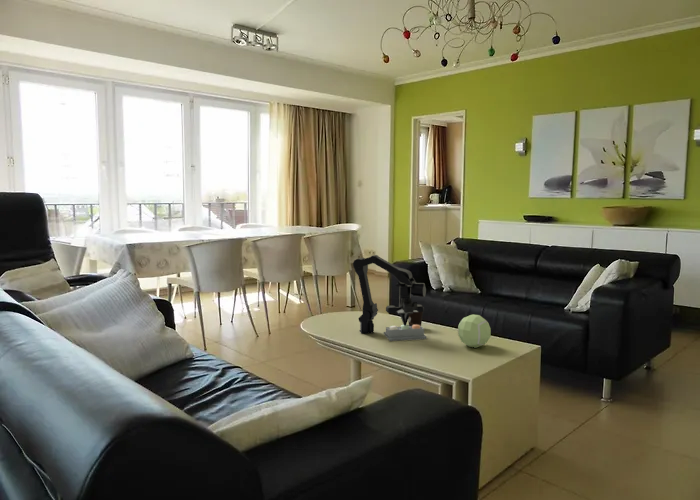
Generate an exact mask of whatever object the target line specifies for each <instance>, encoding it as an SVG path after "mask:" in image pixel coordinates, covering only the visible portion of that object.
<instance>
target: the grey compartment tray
mask: <svg viewBox="0 0 700 500" xmlns="http://www.w3.org/2000/svg"><path fill="white" fill-rule="evenodd" d="M383 335H384V336H385V337H386V339H388V341H389V342H394V341H396V342H397V341H413V340H414V341H415V340H427V339H428V337H427V336H426V335H425V328H424V327H423V326H422V325H421V326H420V329H413V328H412V326H409V329H401V326H397V330H390V326H387V327H386V326H385V331H383Z"/></svg>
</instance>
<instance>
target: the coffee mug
mask: <svg viewBox="0 0 700 500" xmlns="http://www.w3.org/2000/svg"><path fill="white" fill-rule="evenodd" d="M423 313H424V312H418V311H417V310H414V311H413V314H411V315H410V316H409V318H408V321H407V323H408V325H409V326H412V325H420V326H421V327H422V321H423V315H424V314H423Z"/></svg>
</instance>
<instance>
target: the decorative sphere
mask: <svg viewBox="0 0 700 500" xmlns="http://www.w3.org/2000/svg"><path fill="white" fill-rule="evenodd" d="M491 329H492V328H491V326H490V324H489V322H488V320H487V319H485V318H484V317H483V316H481V315H480V314H470V315H468V316H465V317H463V318H462V319H461V320H460V322H459V324H458V327H457V335H458V337H459V340H460V341H461V343H464V345H466V346H467V347H469V348H473V347H474V349H477V348H479V347H482V346H484V345H486V344H487V342H489V340H490V338H491V337H492V336H491V333H492V332H491Z"/></svg>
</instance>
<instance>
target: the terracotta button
mask: <svg viewBox="0 0 700 500" xmlns="http://www.w3.org/2000/svg"><path fill="white" fill-rule="evenodd" d="M412 328H413V329H420V325H412Z"/></svg>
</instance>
